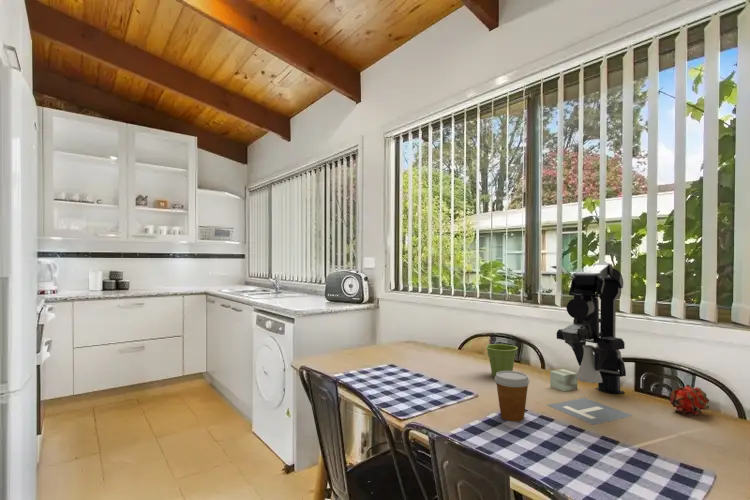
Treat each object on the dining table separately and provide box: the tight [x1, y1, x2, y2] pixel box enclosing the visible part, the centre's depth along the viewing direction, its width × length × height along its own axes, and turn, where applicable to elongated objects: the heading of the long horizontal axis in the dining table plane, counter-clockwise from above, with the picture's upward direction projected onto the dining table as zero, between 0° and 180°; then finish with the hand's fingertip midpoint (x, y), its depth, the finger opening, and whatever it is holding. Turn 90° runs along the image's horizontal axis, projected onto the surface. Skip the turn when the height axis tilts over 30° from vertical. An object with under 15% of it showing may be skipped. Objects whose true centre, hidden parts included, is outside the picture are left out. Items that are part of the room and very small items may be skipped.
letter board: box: [547, 397, 634, 426], centre depth 119 cm, size 16×16×1 cm
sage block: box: [549, 368, 578, 392], centre depth 140 cm, size 6×6×6 cm
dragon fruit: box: [668, 383, 710, 416], centre depth 118 cm, size 8×8×12 cm
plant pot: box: [485, 343, 519, 378], centre depth 155 cm, size 12×12×11 cm
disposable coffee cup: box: [494, 370, 531, 422], centre depth 116 cm, size 10×10×12 cm
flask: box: [576, 344, 602, 384], centre depth 119 cm, size 7×7×10 cm
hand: (588, 368), depth 119 cm, fingers closed on flask, 5 cm apart
